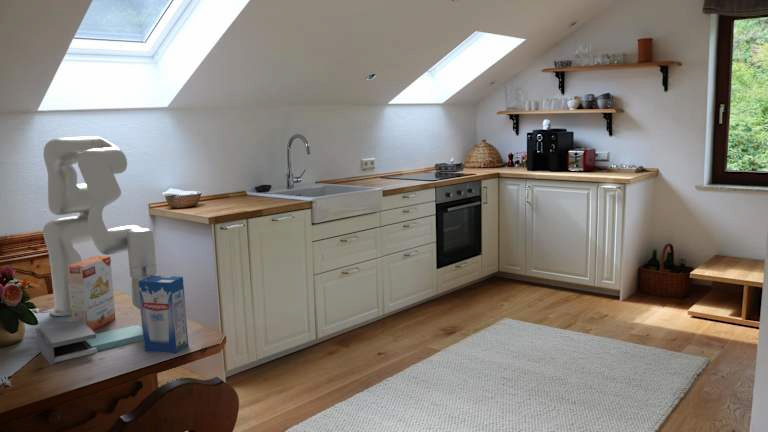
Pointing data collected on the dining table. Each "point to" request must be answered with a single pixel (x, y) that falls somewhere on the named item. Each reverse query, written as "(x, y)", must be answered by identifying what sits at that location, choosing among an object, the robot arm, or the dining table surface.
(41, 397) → the dining table surface
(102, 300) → the cracker box
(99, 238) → the robot arm
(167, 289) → the milk carton
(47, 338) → the grey slotted box
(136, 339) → the tile
